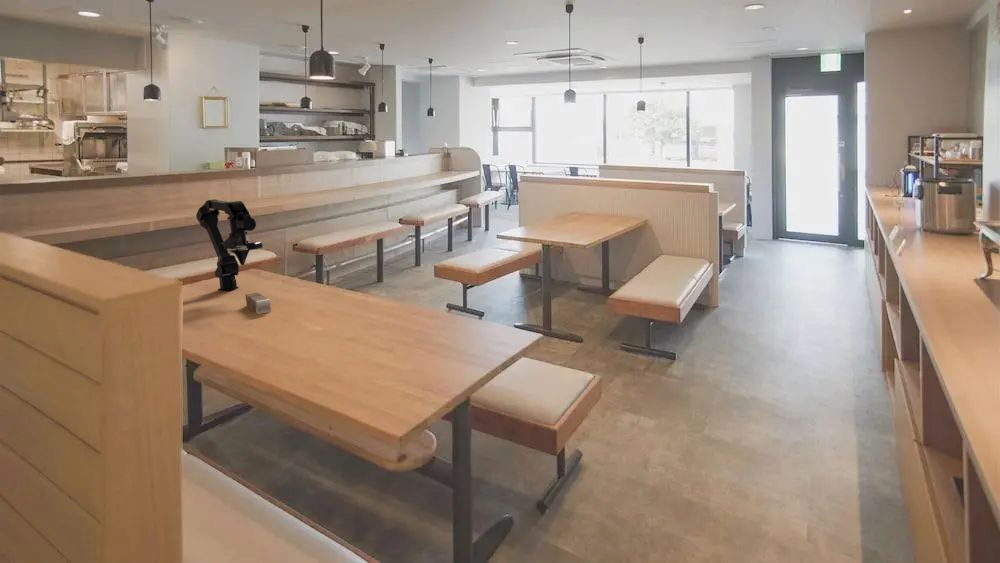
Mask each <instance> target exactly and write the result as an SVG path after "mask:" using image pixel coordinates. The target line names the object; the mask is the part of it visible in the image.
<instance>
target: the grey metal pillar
mask: <svg viewBox="0 0 1000 563" xmlns="http://www.w3.org/2000/svg"><path fill="white" fill-rule="evenodd" d="M245 302H246V307H247V308H249V309H251V311H253V312H254V313H256V314H258V315H259V314H260V315H261V314H265V313H270V312H272V311H271V309H272V308H271V300H270V299H269V298H267V297H266V296H264V295H262V294H261V293H259V292H251V293H246V294H245Z"/></svg>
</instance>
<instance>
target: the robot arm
mask: <svg viewBox="0 0 1000 563" xmlns="http://www.w3.org/2000/svg"><path fill="white" fill-rule="evenodd" d="M220 211H222V212H224V214H226V215H228V216H227V219H226V220H229V226H230V227H229V228H230V233H229V236H228V237H227V239H225V240H224V239H223V236H222V234H221V231H220V229H219V226H218V223H219V215H220V213H221V212H220ZM195 217H196V220H197V221H198V223H199V225H200V226H201V227H202V228H204V229H205V230H206V232H207V234H208V237H209V239H210V241H211V244H212V246H213V249H214V251H215V254H216V256H217V260H216V266H217V267H216V269H215V271H214V276H215V277H216V278H217V279H219V288H218V289H217V290H218V291H226V292H229V291H230V292H231V291H233V290H236V289H239V286H238V285H237V284H238V283H237V279H236V276H239V269H240V266H239V264H240V265H241V266H245V263H246V261H247V257H248V255H249V253H250V251H251V250H252V251H253V250H257V249H262V248H263V244H262V242H261V241H250V242H249V240H247V236H246V235H247V234H248V232H251V231H254V230H255V228H256V227H257V222H256V220H255V219H254V218H253V217H252V216H251V213H250V211H249V210H248V208H247V207H246V205H245V204H244V201H242V200H235V201H225V200H219V199H207V200H206V201H205V202H204V204H203V205H202V206H200V207H199V208H198V210H197V212H196V216H195ZM229 252H231V253H233V254H230V253H229ZM238 262H239V263H238Z"/></svg>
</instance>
